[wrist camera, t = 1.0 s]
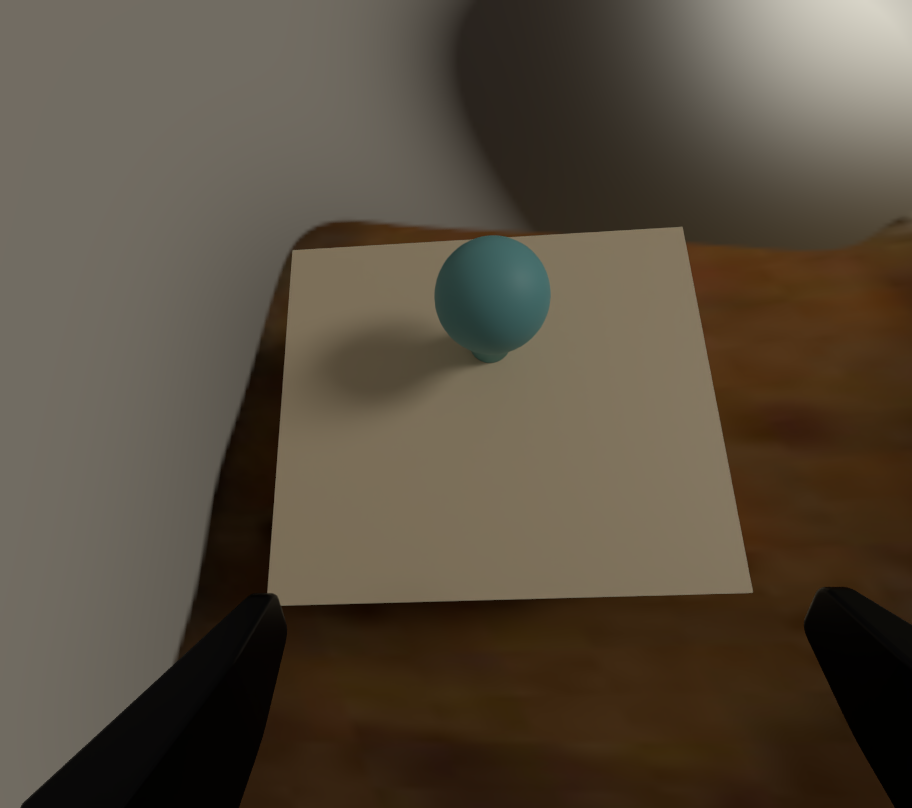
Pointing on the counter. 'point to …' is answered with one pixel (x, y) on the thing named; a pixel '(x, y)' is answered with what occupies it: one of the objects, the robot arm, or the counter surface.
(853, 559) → the counter surface
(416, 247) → the carton lid
